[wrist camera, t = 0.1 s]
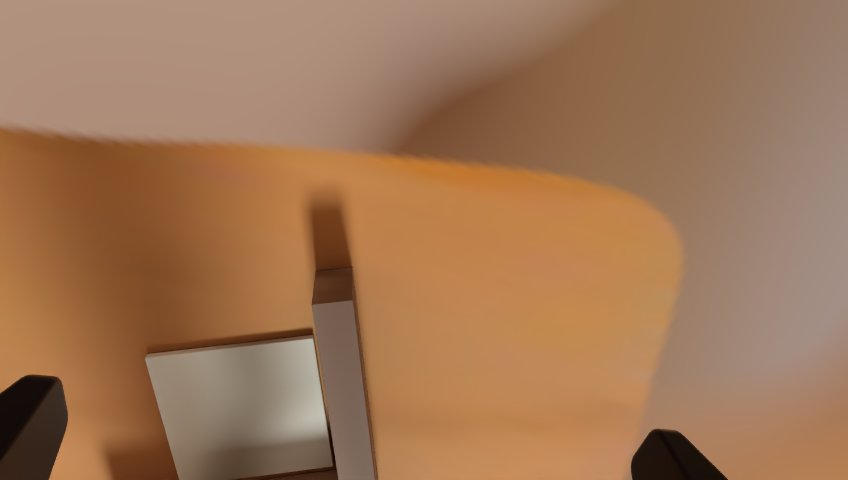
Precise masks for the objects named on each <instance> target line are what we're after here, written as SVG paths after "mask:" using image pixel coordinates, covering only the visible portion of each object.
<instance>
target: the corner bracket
mask: <svg viewBox="0 0 848 480" xmlns="http://www.w3.org/2000/svg"><path fill="white" fill-rule="evenodd" d="M312 310H313V316H314V323H315V329H316V336H317V342H318V349H319V355H320V362H321V368H322V375H323V382H324V388H325V395H326V401H327V408H328V414H329V421H330V427H331V434H332V440H333V447H334V453H335V460H336V466H337V470H330V471H323V472H315V473H308V474H300V475H293V476H285V477H278V478H271V479H263V480H378V476H377V468H376V460H375V452H374V443H373V435H372V427H371V419H370V410H369V402H368V394H367V386H366V377H365V369H364V361H363V353H362V344H361V336H360V328H359V319H358V311H357V303H356V295H355V286H354V278H353V270H352V267H348V268H339V269H329V270H320V271H316V274H315V282H314V291H313V299H312ZM145 361H146V365H147V368H148V372H149V375H150V379H151V382H152V386H153V389H154V393H155V396H156V400H157V404H158V407H159V411H160V414H161V418H162V421H163V425H164V428H165V432H166V435H167V439H168V442H169V446H170V449H171V453H172V457H173V460H174V464H175V467H176V471H177V474H178V478H179V480H234V479H241V478H249V477H256V476H264V475H271V474H279V473H286V472H294V471H301V470H309V469H316V468H324V467H331V466H333V458H332V451H331V445H330V438H329V432H328V425H327V419H326V412H325V406H324V400H323V393H322V387H321V380H320V374H319V367H318V361H317V354H316V348H315V342H314V335H308V336H299V337H291V338H282V339H273V340H265V341H256V342H247V343H239V344H230V345H221V346H213V347H204V348H195V349H187V350H178V351H169V352H161V353H152V354H147V355H146V356H145Z"/></svg>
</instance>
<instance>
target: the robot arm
mask: <svg viewBox="0 0 848 480" xmlns="http://www.w3.org/2000/svg"><path fill="white" fill-rule="evenodd" d="M67 422H68V411H67V406H66V401H65V396H64V391H63V385H62V382H61V380H60V379H59V378H58V377H55V376H44V375H27V376H24V377H22V378H21V379H19V380H18V381H16V382H15V383H14V384H12V385H11V386H10V387H8V388H7V389H6V390H4V391H3V392H2V393H0V480H49V477H50V474H51V471H52V468H53V465H54V462H55V460H56V457H57V454H58V451H59V448H60V445H61V442H62V440H63V437H64V434H65V431H66V427H67ZM631 474H632V479H633V480H728V479H727V478H726V477H725V476H724V475H723V474H722V473H721V472H720V471H719V470H718V469H717V468H716V467H715V466H714V465H713V464H712V463H711V462H710V461H709V460H708V459H707V458H706V457H705V456H704V455H703V454H702V453H701V452H700V451H699V450H697V448H696V447H695V446H694V445H693V444H692V443H691V442H690V441H689V440H688V439H687V438H686V437H685V436H683V435H682V434H681V433H679V432H678V431H675V430H667V429H654V430H652V431H651V432H650V433H649V434H648V436H647V437H646V438H645V440H644V441H643V443H642V444H641V446H640V447H639V449H638V450H637V452H636V453H635V454H634V456H633V459H632V462H631Z"/></svg>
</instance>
